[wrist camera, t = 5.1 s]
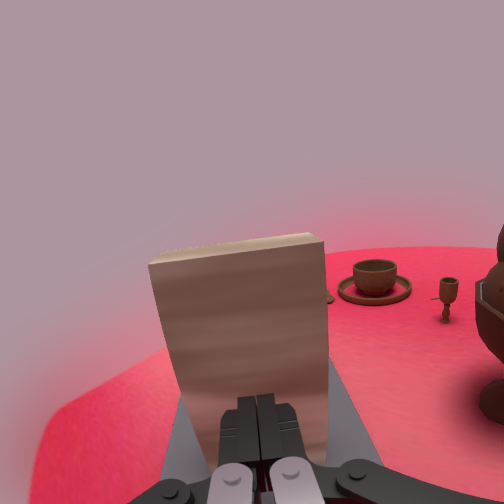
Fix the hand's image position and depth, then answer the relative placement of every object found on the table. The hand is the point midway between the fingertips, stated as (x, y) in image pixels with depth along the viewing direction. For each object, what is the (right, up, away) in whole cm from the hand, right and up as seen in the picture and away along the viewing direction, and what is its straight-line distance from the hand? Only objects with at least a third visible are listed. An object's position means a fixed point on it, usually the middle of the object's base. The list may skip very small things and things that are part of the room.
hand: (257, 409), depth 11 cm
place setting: (+18, -1, +28) cm, 34 cm away
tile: (+1, -7, +4) cm, 8 cm away
